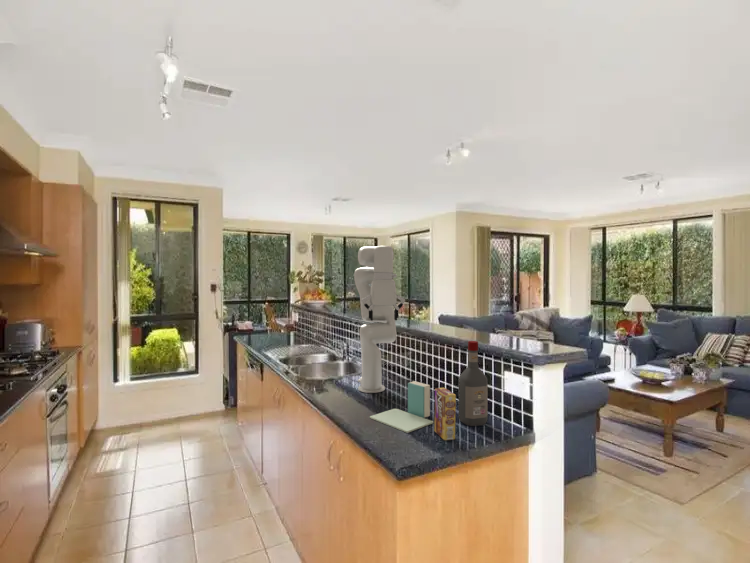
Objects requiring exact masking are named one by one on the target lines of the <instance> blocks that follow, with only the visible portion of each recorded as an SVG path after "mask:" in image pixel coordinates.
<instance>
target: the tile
mask: <svg viewBox="0 0 750 563" xmlns="http://www.w3.org/2000/svg"><path fill="white" fill-rule="evenodd" d="M430 408H431V385H430V384H426V383H424V382H420V381H416V380H413V381H410V382H407V412H408V413H411V414H413V415H416V416H419V417H422V418H425V419H426V418H427V417H431V409H430Z"/></svg>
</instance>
